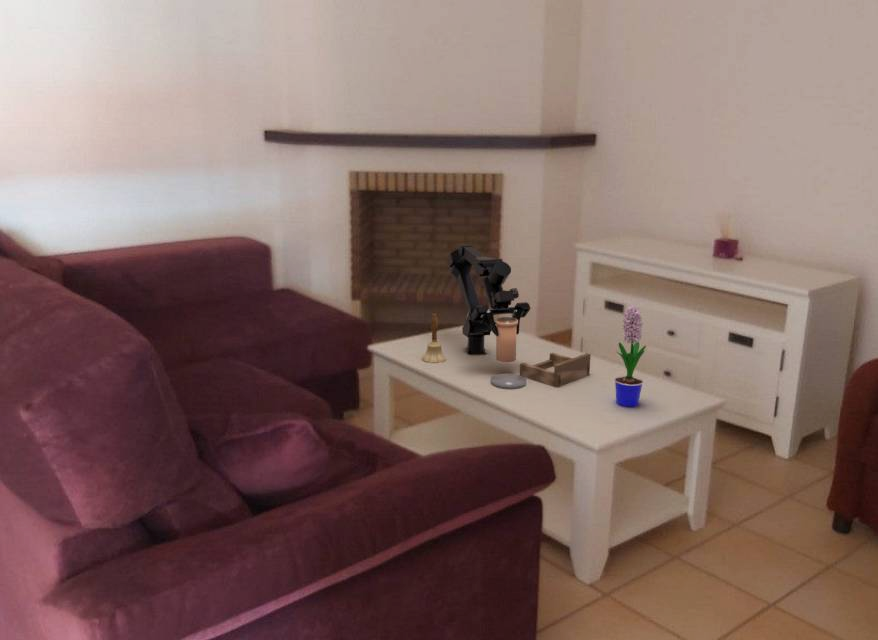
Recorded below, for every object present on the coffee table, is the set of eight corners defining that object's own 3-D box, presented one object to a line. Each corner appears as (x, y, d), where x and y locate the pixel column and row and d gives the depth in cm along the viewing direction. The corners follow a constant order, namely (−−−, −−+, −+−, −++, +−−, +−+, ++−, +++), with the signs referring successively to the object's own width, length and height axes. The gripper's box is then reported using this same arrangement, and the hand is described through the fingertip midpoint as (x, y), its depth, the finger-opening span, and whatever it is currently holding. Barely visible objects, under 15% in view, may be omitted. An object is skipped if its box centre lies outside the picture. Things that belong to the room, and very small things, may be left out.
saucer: (488, 377, 271) (488, 373, 271) (523, 377, 272) (523, 373, 271) (493, 389, 260) (493, 385, 260) (528, 389, 261) (528, 385, 261)
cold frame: (519, 375, 273) (520, 354, 271) (551, 364, 285) (553, 344, 283) (557, 387, 263) (558, 365, 261) (589, 374, 275) (590, 354, 273)
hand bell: (446, 363, 284) (447, 317, 280) (421, 363, 284) (422, 316, 280) (446, 355, 292) (446, 310, 288) (422, 355, 292) (422, 310, 288)
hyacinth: (648, 400, 253) (657, 302, 245) (635, 411, 245) (644, 310, 237) (621, 394, 258) (628, 298, 250) (607, 404, 249) (614, 305, 241)
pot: (498, 354, 278) (499, 316, 275) (520, 356, 276) (520, 318, 272) (491, 361, 272) (492, 321, 268) (513, 363, 269) (514, 324, 266)
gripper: (475, 281, 267) (488, 324, 260) (529, 277, 274) (543, 319, 267) (465, 299, 276) (477, 342, 270) (517, 295, 283) (531, 336, 276)
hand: (507, 334), depth 270 cm, fingers closed on pot, 7 cm apart
